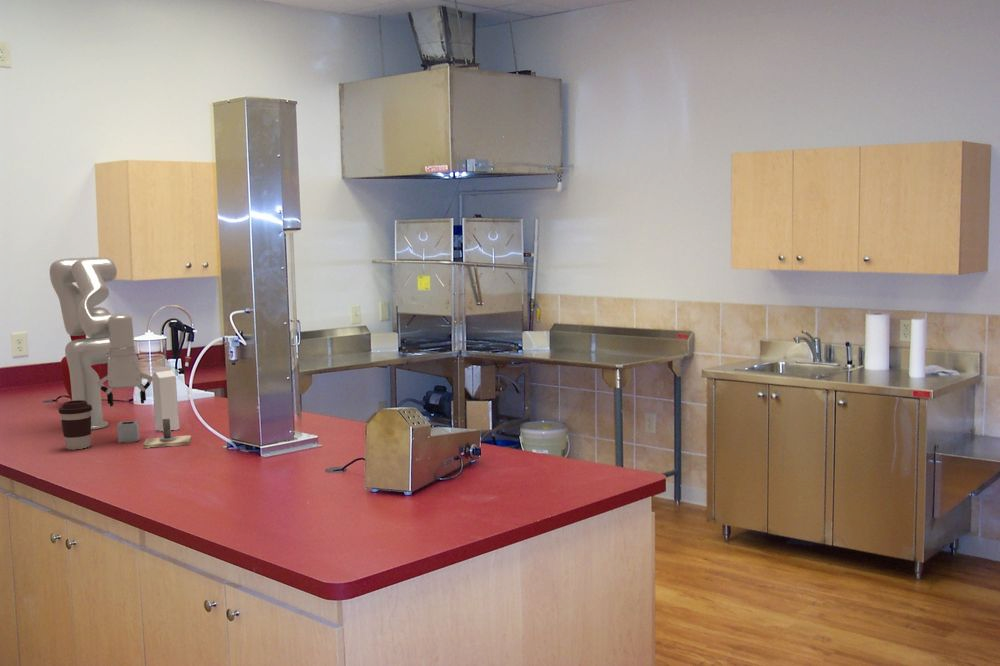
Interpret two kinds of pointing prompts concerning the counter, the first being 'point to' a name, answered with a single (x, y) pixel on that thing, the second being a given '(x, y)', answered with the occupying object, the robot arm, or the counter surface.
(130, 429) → the gray rounded cube
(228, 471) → the counter surface
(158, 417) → the milk
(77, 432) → the coffee cup
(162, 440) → the shaft stand
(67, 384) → the vase
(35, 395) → the counter surface
